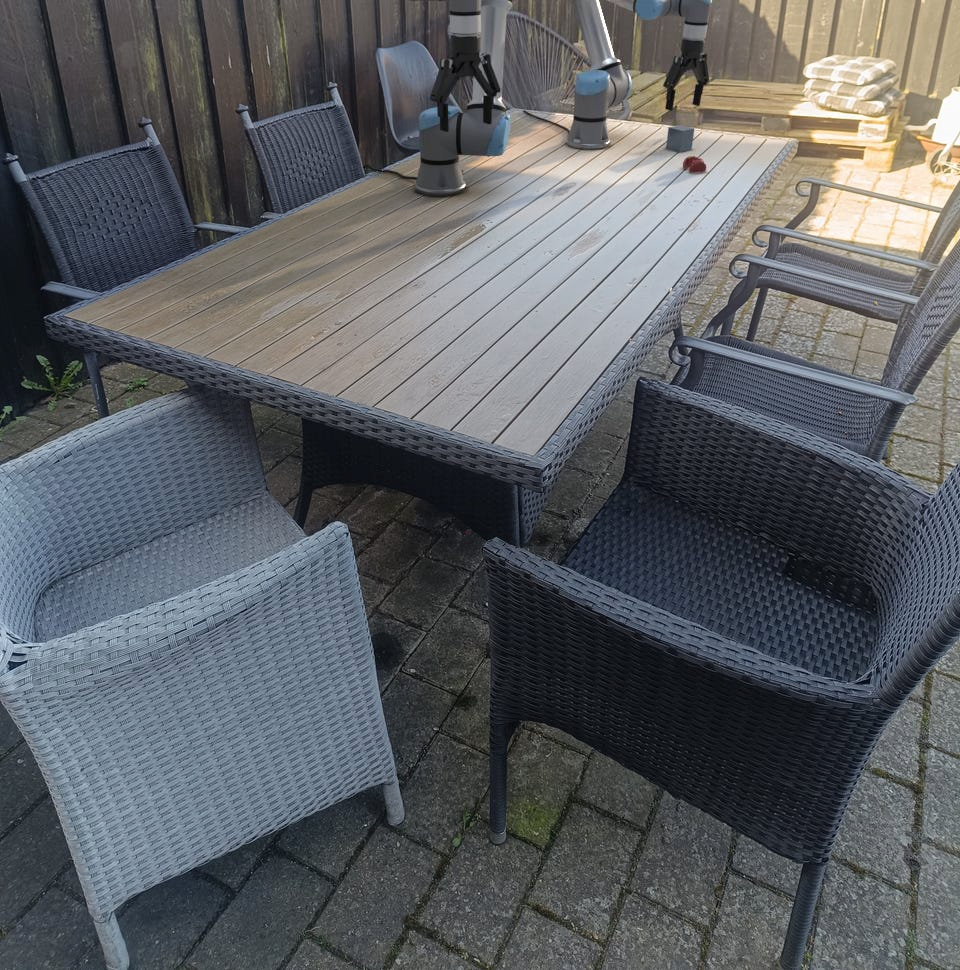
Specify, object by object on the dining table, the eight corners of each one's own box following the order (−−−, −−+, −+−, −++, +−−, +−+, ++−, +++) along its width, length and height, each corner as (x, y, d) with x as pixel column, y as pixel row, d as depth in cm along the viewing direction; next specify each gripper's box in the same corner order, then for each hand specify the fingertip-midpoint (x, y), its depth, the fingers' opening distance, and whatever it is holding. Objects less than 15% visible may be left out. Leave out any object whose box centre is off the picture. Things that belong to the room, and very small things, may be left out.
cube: (691, 149, 297) (694, 128, 293) (679, 152, 294) (682, 130, 290) (677, 145, 302) (680, 124, 297) (665, 148, 299) (668, 127, 294)
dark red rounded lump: (697, 152, 277) (708, 159, 271) (696, 165, 280) (707, 172, 273) (682, 154, 276) (692, 161, 270) (680, 167, 279) (691, 174, 272)
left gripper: (496, 28, 213) (496, 117, 225) (413, 37, 201) (417, 131, 213) (515, 31, 208) (513, 122, 220) (431, 40, 196) (434, 136, 208)
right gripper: (710, 34, 286) (698, 101, 299) (658, 39, 274) (649, 109, 287) (727, 37, 281) (715, 105, 294) (675, 43, 269) (665, 114, 282)
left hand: (466, 127), depth 217 cm, fingers open, 13 cm apart
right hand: (682, 107), depth 290 cm, fingers open, 13 cm apart
